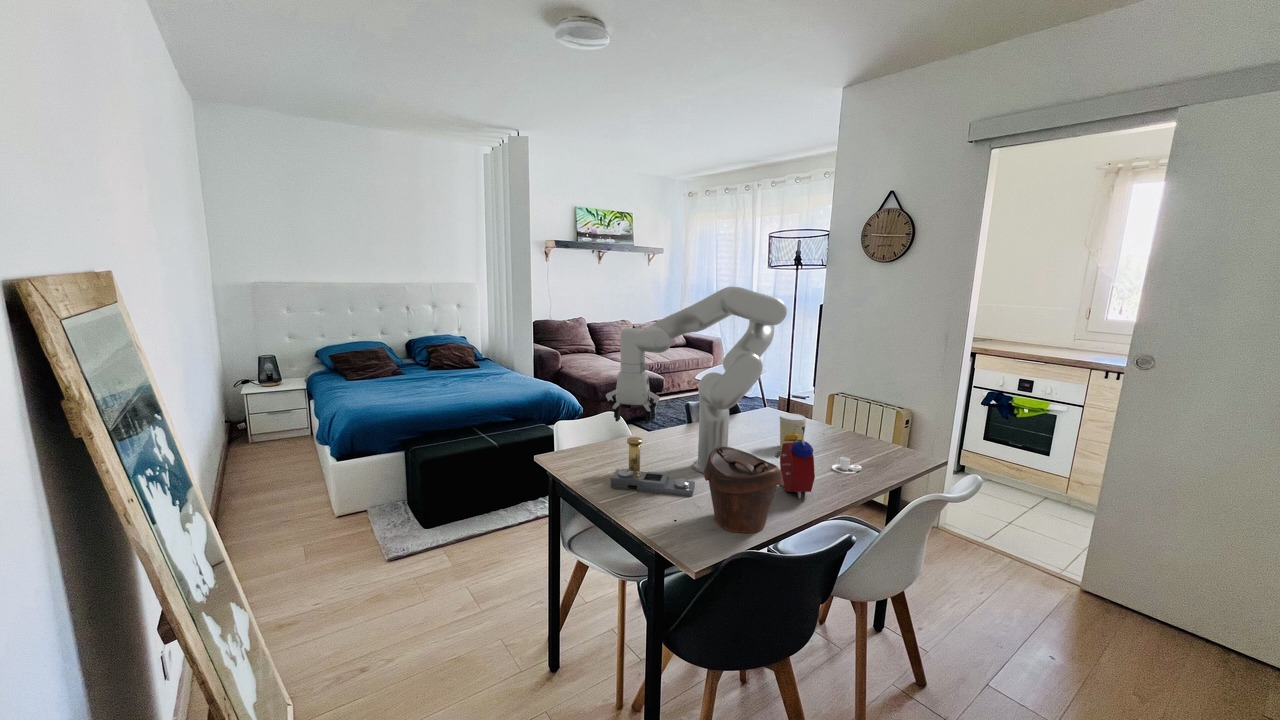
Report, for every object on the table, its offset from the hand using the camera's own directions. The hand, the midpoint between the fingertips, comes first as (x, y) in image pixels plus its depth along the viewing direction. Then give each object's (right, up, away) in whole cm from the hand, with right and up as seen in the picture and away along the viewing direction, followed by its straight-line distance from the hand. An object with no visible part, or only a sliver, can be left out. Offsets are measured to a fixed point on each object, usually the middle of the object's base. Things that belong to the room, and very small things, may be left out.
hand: (632, 421), depth 161 cm
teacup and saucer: (+71, -18, +5) cm, 73 cm away
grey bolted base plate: (+6, -19, -9) cm, 22 cm away
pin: (+1, -17, +2) cm, 17 cm away
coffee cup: (+58, -13, +27) cm, 66 cm away
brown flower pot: (+28, -22, -30) cm, 47 cm away
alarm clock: (+47, -19, -11) cm, 52 cm away
